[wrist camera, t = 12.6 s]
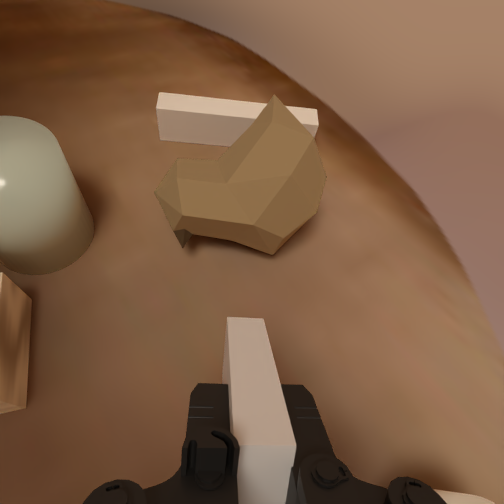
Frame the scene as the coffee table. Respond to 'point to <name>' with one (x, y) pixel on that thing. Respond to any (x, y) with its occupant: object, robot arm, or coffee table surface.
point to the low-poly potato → (248, 185)
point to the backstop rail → (214, 118)
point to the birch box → (13, 345)
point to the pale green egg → (38, 201)
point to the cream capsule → (461, 498)
